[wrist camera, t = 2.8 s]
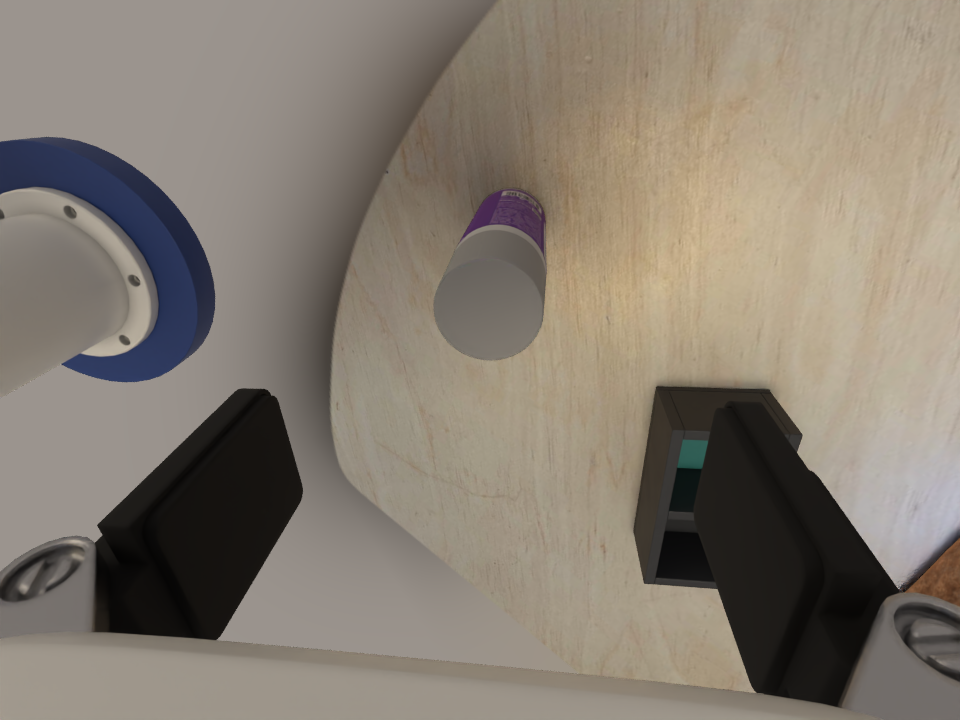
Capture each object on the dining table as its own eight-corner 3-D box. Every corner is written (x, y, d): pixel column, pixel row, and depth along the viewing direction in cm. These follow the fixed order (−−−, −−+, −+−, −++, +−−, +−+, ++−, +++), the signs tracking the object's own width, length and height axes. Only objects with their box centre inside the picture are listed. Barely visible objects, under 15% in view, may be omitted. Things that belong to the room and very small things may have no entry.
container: (462, 209, 33) (407, 287, 19) (525, 173, 31) (512, 232, 18) (496, 270, 34) (466, 379, 21) (557, 238, 33) (566, 336, 20)
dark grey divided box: (633, 530, 45) (643, 583, 40) (655, 386, 37) (672, 430, 32) (727, 536, 44) (749, 591, 39) (769, 389, 36) (803, 434, 31)
